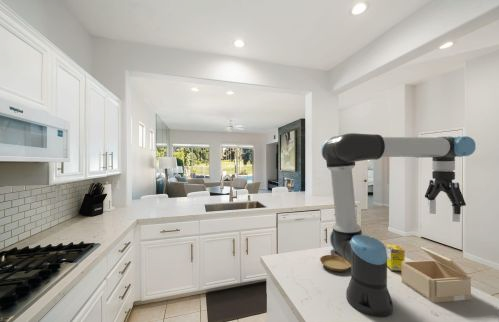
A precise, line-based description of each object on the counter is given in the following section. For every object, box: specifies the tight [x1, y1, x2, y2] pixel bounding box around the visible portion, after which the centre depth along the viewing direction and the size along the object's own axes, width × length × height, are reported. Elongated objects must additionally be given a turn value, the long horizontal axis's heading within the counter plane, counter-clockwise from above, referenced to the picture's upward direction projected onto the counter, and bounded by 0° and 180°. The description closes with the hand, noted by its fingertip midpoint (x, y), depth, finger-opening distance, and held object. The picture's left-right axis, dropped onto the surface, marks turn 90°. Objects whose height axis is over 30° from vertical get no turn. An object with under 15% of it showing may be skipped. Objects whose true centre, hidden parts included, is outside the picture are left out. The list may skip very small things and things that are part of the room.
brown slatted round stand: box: [330, 247, 342, 257], centre depth 119 cm, size 12×12×8 cm
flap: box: [421, 246, 468, 276], centre depth 85 cm, size 9×12×1 cm
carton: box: [401, 259, 472, 304], centre depth 84 cm, size 16×16×9 cm
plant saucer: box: [319, 254, 351, 273], centre depth 105 cm, size 15×15×3 cm
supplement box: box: [385, 244, 405, 273], centre depth 101 cm, size 6×6×11 cm
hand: (442, 217), depth 93 cm, fingers open, 13 cm apart
